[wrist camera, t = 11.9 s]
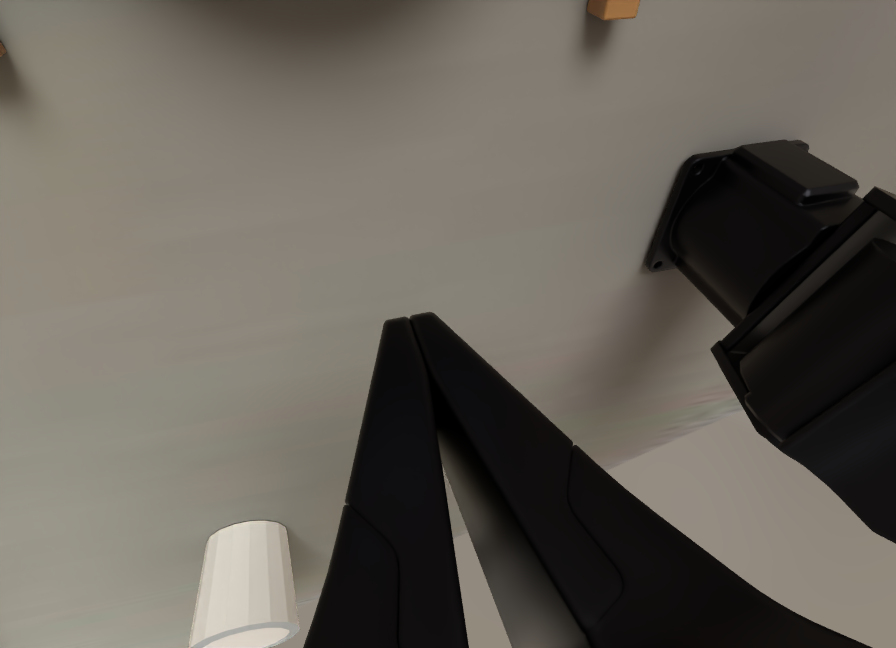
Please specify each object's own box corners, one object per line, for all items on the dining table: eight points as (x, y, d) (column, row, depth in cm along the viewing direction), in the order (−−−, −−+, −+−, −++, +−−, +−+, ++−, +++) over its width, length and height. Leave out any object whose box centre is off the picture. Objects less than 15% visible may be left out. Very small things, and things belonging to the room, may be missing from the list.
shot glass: (174, 547, 34) (160, 662, 29) (251, 507, 33) (249, 620, 28) (245, 563, 39) (243, 663, 34) (313, 529, 38) (320, 627, 33)
